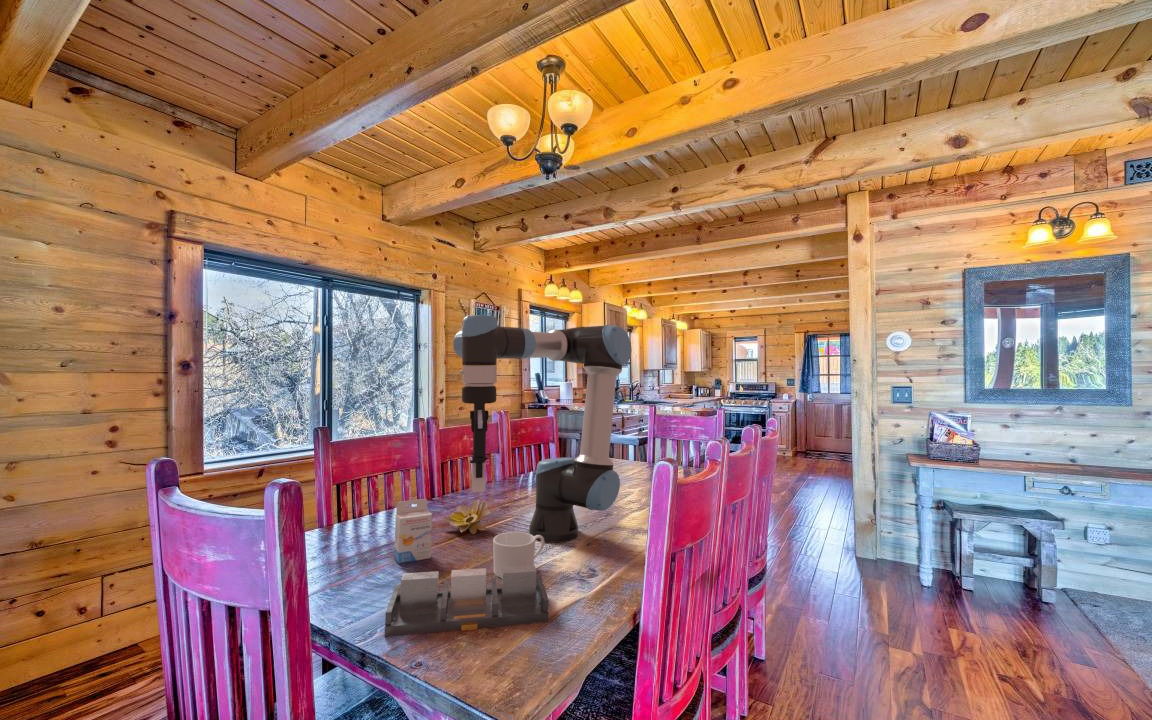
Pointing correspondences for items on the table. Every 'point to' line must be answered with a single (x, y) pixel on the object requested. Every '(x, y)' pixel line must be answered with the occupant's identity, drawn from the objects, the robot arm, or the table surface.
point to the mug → (514, 550)
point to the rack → (431, 610)
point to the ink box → (412, 531)
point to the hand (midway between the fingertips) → (478, 491)
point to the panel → (468, 589)
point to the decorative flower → (469, 516)
